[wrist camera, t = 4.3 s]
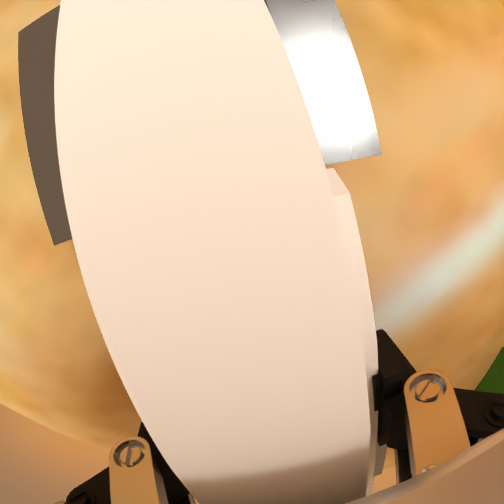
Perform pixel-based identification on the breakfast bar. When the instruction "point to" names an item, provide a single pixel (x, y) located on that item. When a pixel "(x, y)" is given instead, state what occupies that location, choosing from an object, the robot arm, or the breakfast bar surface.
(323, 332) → the cream elongated piece
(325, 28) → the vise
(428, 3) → the breakfast bar surface
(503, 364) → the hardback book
